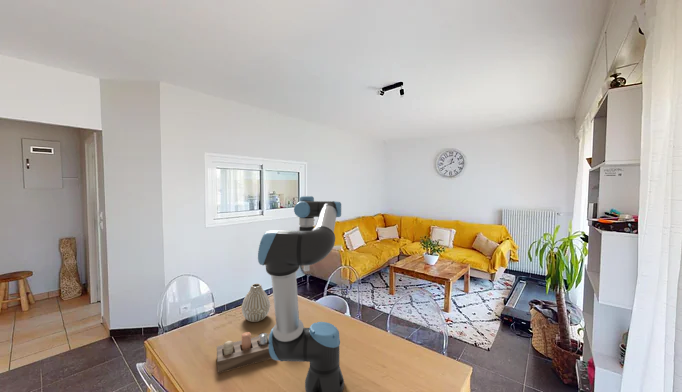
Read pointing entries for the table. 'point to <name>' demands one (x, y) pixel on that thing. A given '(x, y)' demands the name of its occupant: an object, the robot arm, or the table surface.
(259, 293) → the vase
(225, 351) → the plug
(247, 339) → the plug mid
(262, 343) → the plug
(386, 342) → the table surface
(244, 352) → the board
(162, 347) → the table surface
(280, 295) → the robot arm
